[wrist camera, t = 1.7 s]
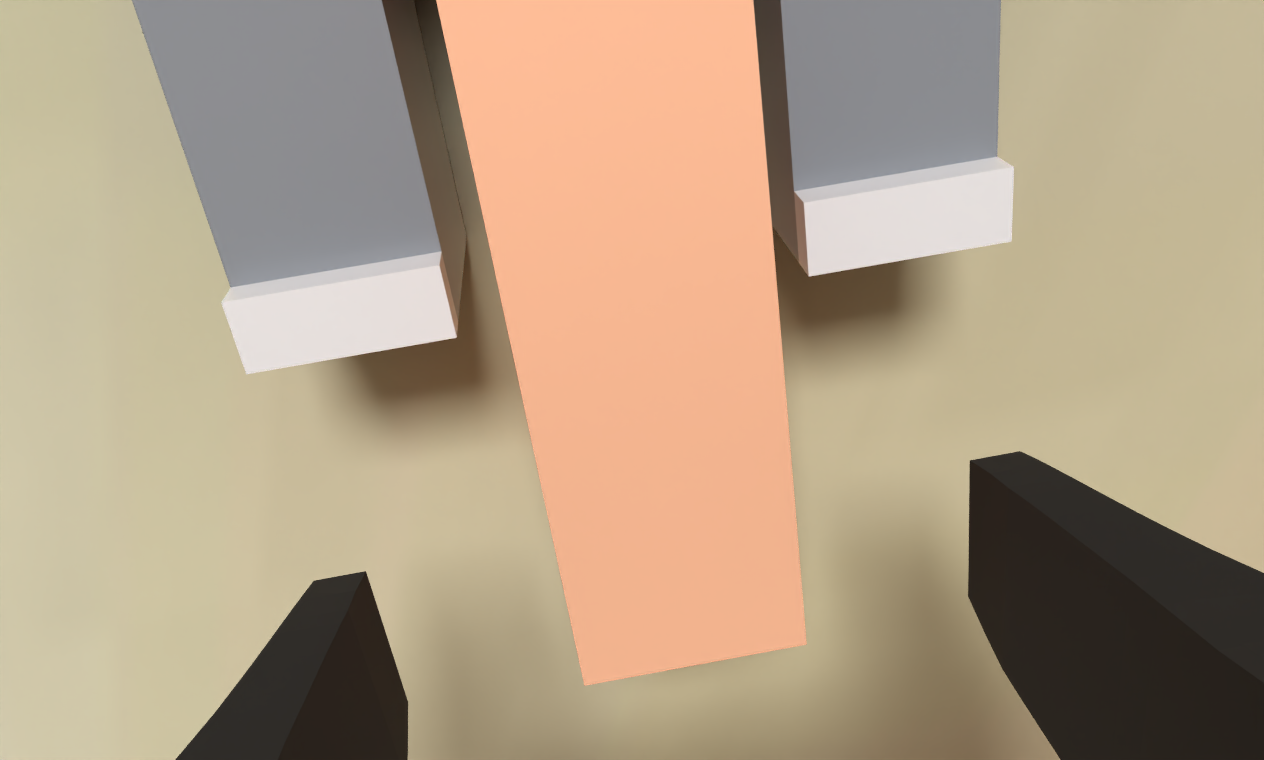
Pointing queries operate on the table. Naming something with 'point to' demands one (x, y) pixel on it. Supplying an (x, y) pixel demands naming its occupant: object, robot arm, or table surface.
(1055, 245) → the table surface
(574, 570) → the salmon long block
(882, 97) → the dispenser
